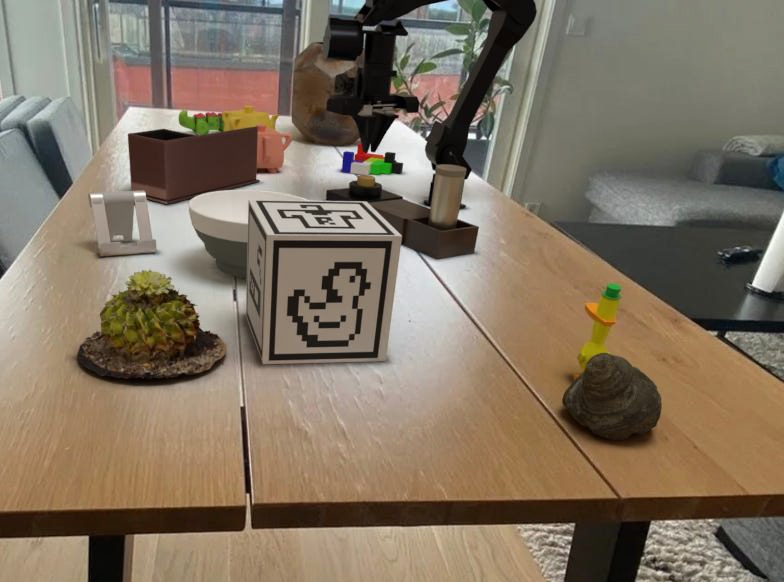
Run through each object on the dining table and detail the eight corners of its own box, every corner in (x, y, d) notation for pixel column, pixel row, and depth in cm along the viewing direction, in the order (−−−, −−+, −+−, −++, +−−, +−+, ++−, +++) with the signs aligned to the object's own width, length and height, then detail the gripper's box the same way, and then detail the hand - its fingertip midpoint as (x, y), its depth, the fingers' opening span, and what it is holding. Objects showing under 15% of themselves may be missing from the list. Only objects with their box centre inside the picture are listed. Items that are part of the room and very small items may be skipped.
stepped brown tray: (400, 223, 146) (403, 198, 144) (474, 253, 133) (479, 226, 130) (361, 228, 141) (363, 203, 139) (434, 259, 128) (438, 232, 126)
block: (262, 364, 90) (267, 235, 81) (245, 316, 102) (248, 199, 94) (385, 361, 93) (402, 235, 84) (354, 314, 105) (366, 201, 97)
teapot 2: (251, 162, 185) (251, 118, 179) (293, 170, 180) (295, 125, 175) (223, 169, 176) (223, 123, 171) (267, 177, 171) (269, 130, 166)
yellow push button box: (371, 196, 163) (373, 176, 161) (401, 207, 156) (404, 187, 154) (325, 201, 157) (327, 180, 155) (355, 213, 150) (357, 192, 148)
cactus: (91, 394, 81) (82, 306, 75) (66, 336, 93) (57, 256, 87) (245, 374, 87) (247, 291, 82) (203, 322, 99) (203, 247, 94)
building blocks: (394, 179, 178) (396, 159, 176) (341, 171, 181) (342, 152, 179) (407, 167, 190) (410, 149, 188) (358, 161, 193) (359, 142, 191)
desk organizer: (127, 194, 151) (123, 132, 145) (222, 174, 172) (222, 119, 166) (166, 205, 146) (164, 141, 140) (260, 182, 167) (261, 126, 161)
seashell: (534, 348, 83) (567, 389, 74) (638, 294, 80) (685, 330, 72) (567, 427, 89) (601, 473, 80) (665, 379, 86) (712, 421, 78)
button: (366, 183, 157) (367, 174, 156) (378, 187, 154) (379, 178, 153) (353, 184, 155) (353, 175, 154) (363, 188, 152) (364, 179, 151)
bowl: (218, 297, 107) (218, 228, 102) (171, 255, 121) (169, 192, 116) (339, 283, 115) (345, 218, 110) (282, 245, 129) (285, 186, 124)
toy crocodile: (243, 131, 219) (243, 108, 216) (251, 135, 214) (251, 111, 211) (175, 131, 212) (175, 107, 208) (182, 136, 207) (182, 111, 203)
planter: (317, 130, 228) (323, 38, 214) (387, 144, 216) (398, 48, 203) (271, 138, 212) (274, 40, 199) (344, 153, 201) (353, 50, 188)
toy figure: (557, 368, 94) (582, 272, 87) (584, 368, 94) (612, 273, 88) (580, 393, 88) (610, 293, 82) (609, 393, 89) (641, 293, 82)
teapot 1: (273, 146, 203) (274, 103, 197) (279, 156, 193) (281, 111, 187) (221, 144, 201) (221, 101, 195) (225, 154, 190) (225, 108, 185)
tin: (439, 241, 136) (451, 163, 129) (459, 248, 133) (472, 169, 126) (418, 244, 134) (429, 165, 127) (437, 252, 130) (450, 171, 123)
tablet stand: (102, 258, 118) (97, 202, 113) (90, 243, 124) (86, 189, 119) (156, 254, 121) (154, 199, 117) (143, 239, 127) (140, 187, 122)
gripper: (389, 58, 153) (380, 142, 161) (312, 57, 143) (307, 146, 152) (426, 64, 145) (414, 152, 154) (348, 64, 136) (340, 158, 144)
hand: (369, 152), depth 151 cm, fingers closed
